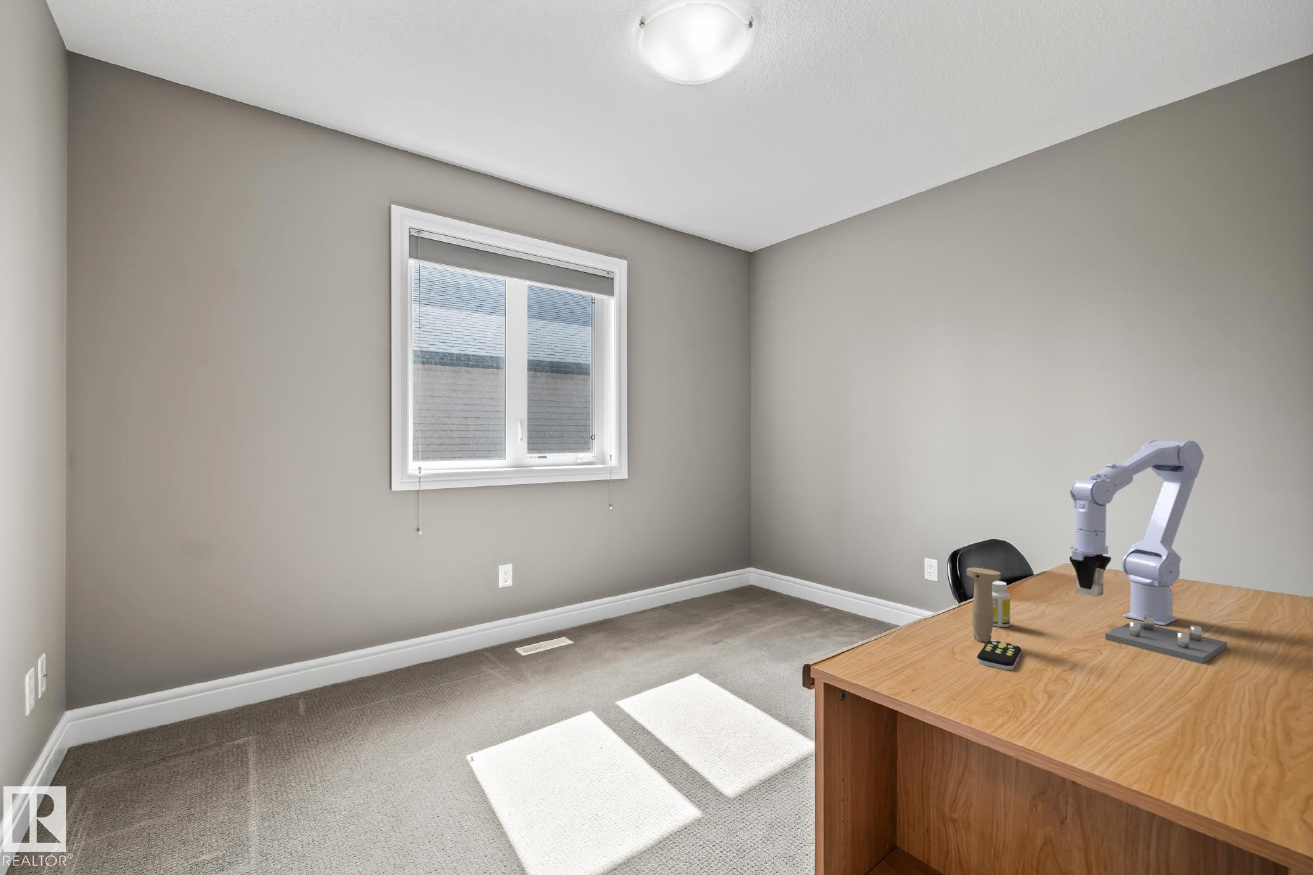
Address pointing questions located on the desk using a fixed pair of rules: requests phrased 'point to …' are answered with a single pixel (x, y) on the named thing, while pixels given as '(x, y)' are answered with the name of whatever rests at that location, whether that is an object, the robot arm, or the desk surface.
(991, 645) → the remote control
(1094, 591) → the cream block
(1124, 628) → the peg board
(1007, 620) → the supplement bottle
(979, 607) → the handle
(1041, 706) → the desk surface
